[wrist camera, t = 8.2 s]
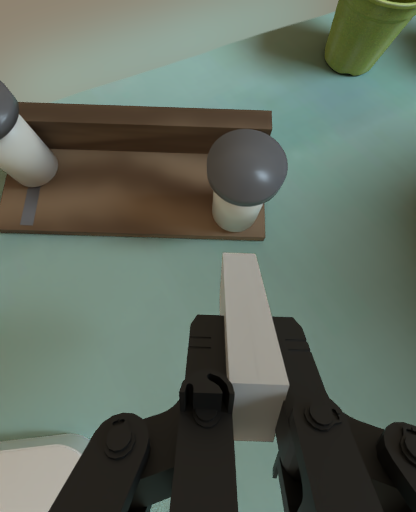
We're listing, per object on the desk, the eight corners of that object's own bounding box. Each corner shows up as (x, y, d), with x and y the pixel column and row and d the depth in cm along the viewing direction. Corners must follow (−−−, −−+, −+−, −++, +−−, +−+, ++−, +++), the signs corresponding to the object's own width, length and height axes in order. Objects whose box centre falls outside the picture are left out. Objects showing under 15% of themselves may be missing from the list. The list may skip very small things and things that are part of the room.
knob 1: (59, 193, 27) (1, 139, 19) (1, 191, 27) (-80, 137, 19) (68, 144, 28) (17, 75, 21) (13, 142, 28) (-59, 72, 21)
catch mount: (263, 240, 28) (275, 222, 23) (1, 232, 27) (-43, 212, 22) (260, 145, 30) (271, 110, 25) (23, 137, 30) (-12, 101, 25)
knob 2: (264, 239, 26) (289, 201, 18) (205, 237, 26) (205, 199, 18) (262, 185, 28) (285, 130, 20) (206, 184, 27) (208, 127, 20)
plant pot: (293, 49, 34) (323, -42, 26) (349, 17, 35) (394, -80, 27) (345, 101, 32) (396, 20, 24) (402, 64, 34) (468, -24, 25)
